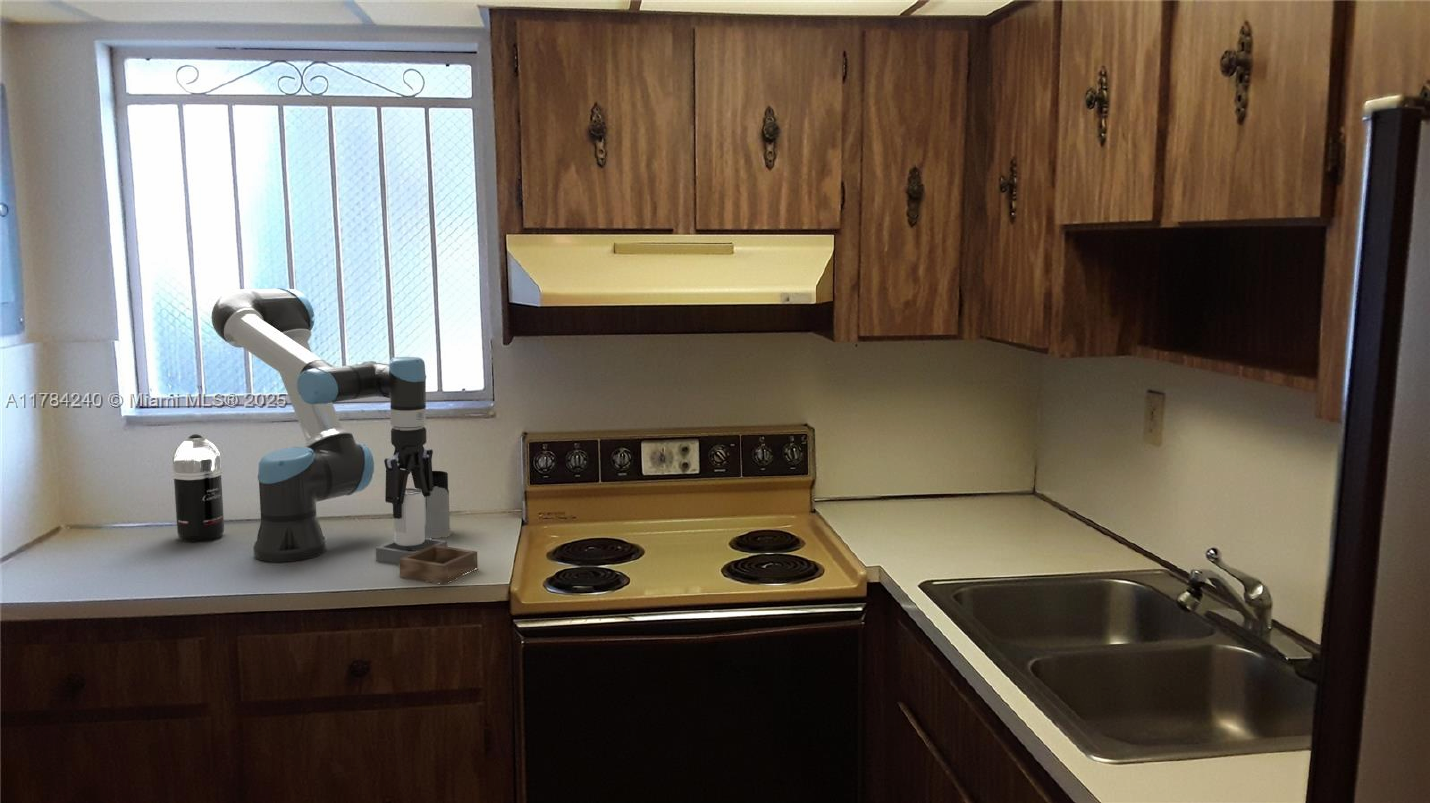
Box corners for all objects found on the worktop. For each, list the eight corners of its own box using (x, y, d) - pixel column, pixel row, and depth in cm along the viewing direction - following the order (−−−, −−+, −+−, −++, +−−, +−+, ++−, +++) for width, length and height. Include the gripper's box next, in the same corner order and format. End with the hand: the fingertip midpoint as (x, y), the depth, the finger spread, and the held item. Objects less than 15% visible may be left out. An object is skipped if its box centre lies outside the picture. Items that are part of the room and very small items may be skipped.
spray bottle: (166, 540, 233) (160, 435, 229) (203, 529, 242) (197, 429, 239) (198, 545, 229) (192, 439, 225) (235, 534, 239) (229, 432, 235)
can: (415, 548, 219) (415, 495, 217) (389, 545, 220) (388, 493, 218) (430, 540, 225) (429, 488, 223) (404, 537, 227) (403, 486, 225)
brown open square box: (399, 577, 209) (399, 558, 209) (434, 562, 220) (434, 544, 219) (444, 584, 205) (443, 566, 205) (477, 569, 216) (477, 551, 215)
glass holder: (419, 540, 236) (417, 479, 234) (406, 526, 248) (404, 467, 246) (455, 536, 240) (454, 475, 238) (441, 522, 253) (439, 464, 250)
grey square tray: (376, 560, 220) (375, 547, 220) (409, 547, 230) (408, 535, 230) (416, 567, 216) (415, 554, 216) (447, 553, 226) (447, 541, 226)
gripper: (393, 435, 209) (395, 541, 212) (449, 422, 226) (450, 519, 230) (365, 432, 212) (367, 536, 215) (422, 419, 229) (424, 515, 232)
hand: (410, 527), depth 222 cm, fingers closed on can, 6 cm apart
